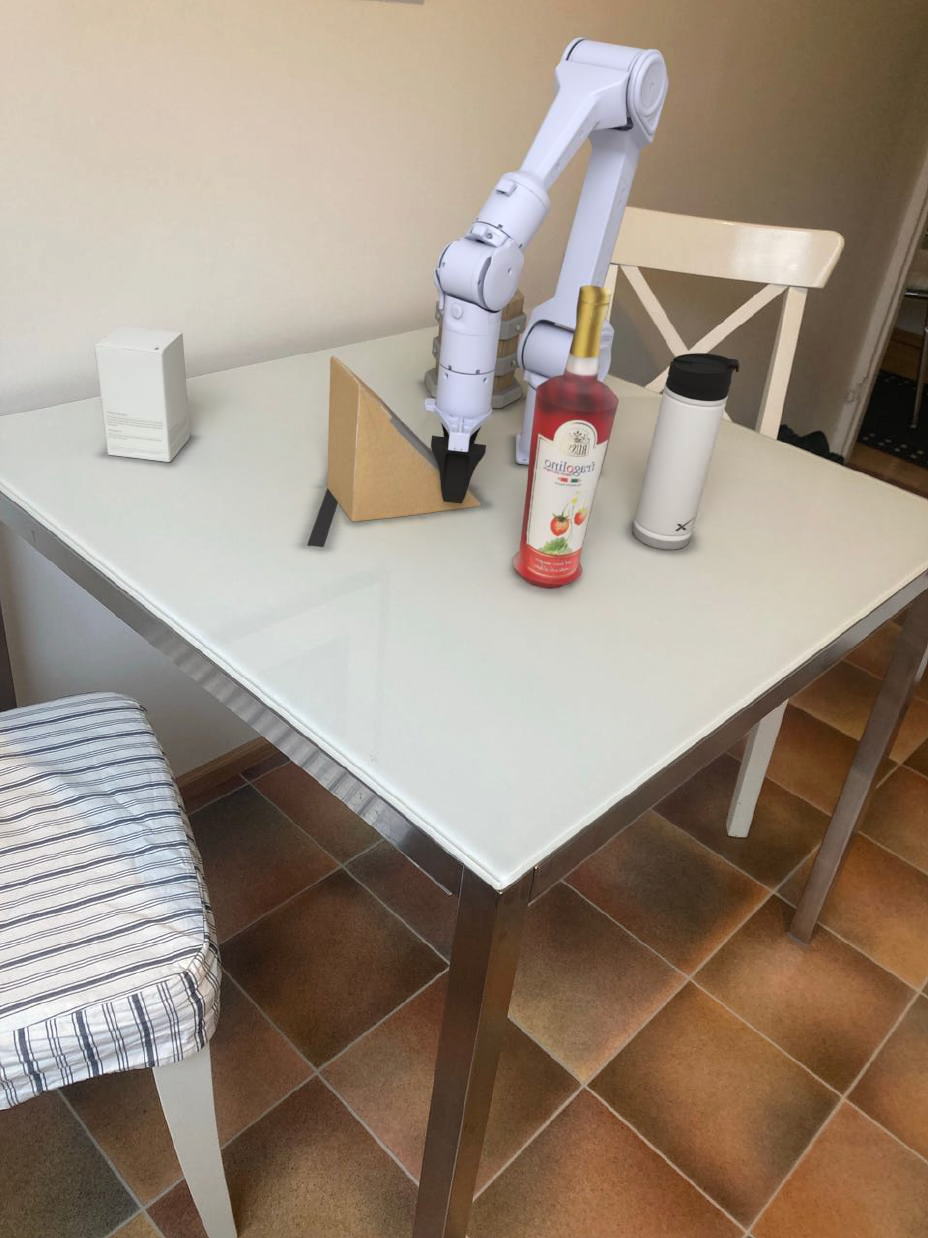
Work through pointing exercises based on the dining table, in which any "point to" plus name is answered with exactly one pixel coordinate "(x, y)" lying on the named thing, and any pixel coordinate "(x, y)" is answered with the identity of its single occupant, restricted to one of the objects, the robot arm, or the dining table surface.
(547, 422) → the liquor
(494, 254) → the robot arm
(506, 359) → the tankard
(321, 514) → the tape line
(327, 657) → the dining table surface
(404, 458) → the sandwich container
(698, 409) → the travel mug
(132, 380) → the white packaging box
